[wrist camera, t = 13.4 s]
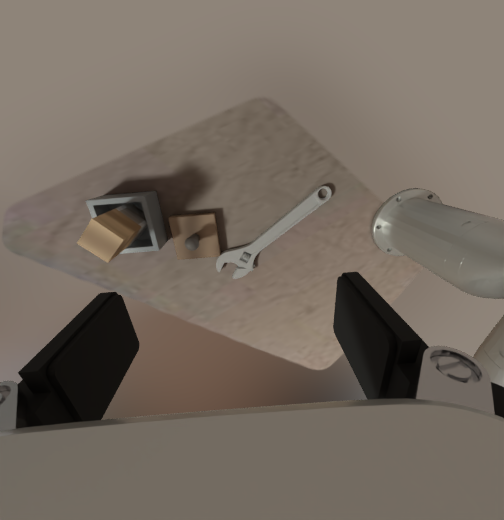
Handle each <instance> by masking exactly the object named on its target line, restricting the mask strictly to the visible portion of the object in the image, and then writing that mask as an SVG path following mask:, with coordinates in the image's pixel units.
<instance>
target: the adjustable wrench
mask: <svg viewBox="0 0 504 520" xmlns="http://www.w3.org/2000/svg"><path fill="white" fill-rule="evenodd" d="M321 189H326V190H327V196H326V197H325V198H320V197H319V196H318V192H319V190H321ZM331 194H332V193H331V189H330V188H329V187H327V186H320V187H318V188H317V189H316V190H314V191H313V192H312V193H311V194H310V195H308V196H307V197H306V198H305V199H303V200H302V201H301V202H300V203H299V204H297V205H296V206H295V207H294V208H293V209H291V210H290V211H289V212H288V213H286V214H285V215H284V216H283V217H282V218H280V219H279V220H278V221H277V222H276V223H274V224H273V225H272V226H271V227H269V228H268V229H267V230H266V231H265V232H263V233H262V234H261V235H260V236H258V237H257V238H256V239H255V240H254V241H252V242H251V243H249V244H247V245H244V246H241V247H238V248H233V249H228V250H225V251H223V252H222V253H221V255H220V256H218V259H217V263H216V268H217V271H218V272H220V270H221V268H222V266H223V264H224V263H228V262H233V263H235V264H237V265H238V266H237V268H236V270H235V271H234V273H233V275H232V278H233V279H237V278H241V277H243V276H245V275H246V274H247V273H249V272H250V271H253V268H254V267H255V264H253V262H254V259H255V257H256V255H257V254H258V253H259V252H260V251H261V250H262V249H264V248H265V247H266V246H268V245H269V244H270V243H272V242H273V241H274V240H276V239H277V238H278V237H280V236H281V235H282V234H284V233H285V232H286V231H288V230H289V229H290V228H292V227H293V226H294V225H296V224H297V223H298V222H299V221H301V220H302V219H303V218H305V217H306V216H307V215H309V214H310V213H311V212H313V211H314V210H315V209H317V208H318V207H319V206H321V205H322V204H323V203H325V202H326V201H327V200H328V199H329V198H330V197H331ZM244 251H245V252H244ZM246 252H247V253H246ZM250 254H251V255H250ZM242 258H243V259H242Z"/></svg>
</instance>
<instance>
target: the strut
mask: <svg viewBox="0 0 504 520" xmlns="http://www.w3.org/2000/svg"><path fill="white" fill-rule="evenodd" d="M147 226H148V225H147V222H146V218H145V214H144V212H143V211H142V210H141V209H139V208H138V207H137V206H135V205H134V204H132V203H131V202H129V203H127V204H125V205H122V206H120V207H118V208H115V209H113V210H111V211H109V212H106V213H104V214H102V215H99V216H97V217H95V218H92V220H91V221H90V223H89V224H88V226H87V228H86V229H85V231H84V232H83V234H82V236H81V237H80V239H79V241H78V242H77V244H79V245H80V246H82V247H84V248H85V249H87V250H88V251H90V252H91V253H93V254H95V255H96V256H98V257H99V258H101V259H103V260H104V261H106V262H107V263H108V262H109V261H111V260H112V259H113V258H114V257H116V256H117V255H118V254H119V253H121V252H122V251H123V250H124V249H126V248H127V247H128V246H129V245H130V244H132V243H133V242H134V241H135V240H137V239H138V238H139V237H140V236H141V235H142V233H143V232H144V231H145V229H146V228H147Z"/></svg>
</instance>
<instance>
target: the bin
mask: <svg viewBox="0 0 504 520" xmlns="http://www.w3.org/2000/svg"><path fill="white" fill-rule="evenodd" d="M129 202H131V203H132V204H134V205H135V206H137V207H138V208H139V209H141V210H142V211H143V212H144V214H145V218H146V222H147V225H148V226H147V228H146V229H145V231H144V232H143V233H142V235H141V236H140V237H139V238H138V239H137V240H135V241H134V242H133V243H132V244H130V245H129V246H128V247H127V248H126V249H124V250H123V251H122V252H121V253H119V254H122V253H134V252H146V251H158V250H160V249H161V248H162V247H163V245H164V244H165V243H166V242H167V241H168V238H167V234H166V230H165V226H164V222H163V217H162V213H161V209H160V205H159V201H158V197H157V193H156V191H148V192H136V193H124V194H112V195H103V196H100V197H96V198H93V199H90V200H86V203H87V205H88V208H89V211H90V213H91V216H92V218H95V217H97V216H99V215H102V214H104V213H106V212H109V211H111V210H113V209H115V208H118V207H120V206H122V205H125V204H127V203H129Z"/></svg>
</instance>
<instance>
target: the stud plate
mask: <svg viewBox="0 0 504 520" xmlns="http://www.w3.org/2000/svg"><path fill="white" fill-rule="evenodd" d="M168 220H169V224H170V228H171V232H172V237H173V241H174V245H175V250H176V254H177V258H178V260H181V259H193V258H205V257H217V256H220V255H221V250H220V243H219V236H218V229H217V222H216V215H215V212H211V213H199V214H187V215H176V216H170V217H169V218H168Z"/></svg>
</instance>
